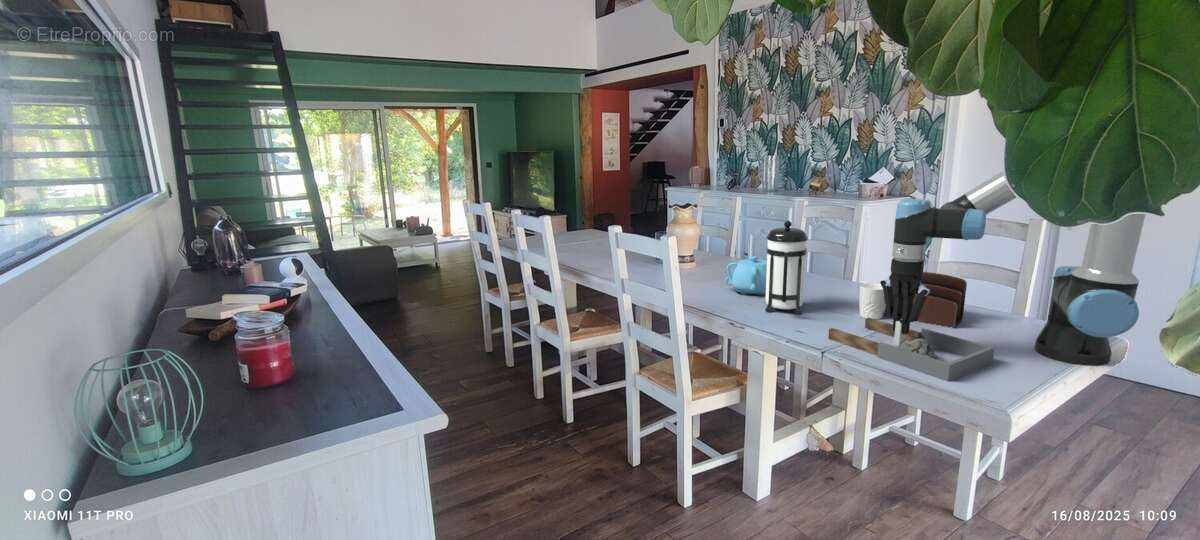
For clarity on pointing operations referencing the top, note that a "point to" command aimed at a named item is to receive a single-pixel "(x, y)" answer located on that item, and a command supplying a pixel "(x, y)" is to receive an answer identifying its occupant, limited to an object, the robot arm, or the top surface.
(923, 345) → the fossilized seashell
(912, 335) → the slot rails
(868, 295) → the white cup
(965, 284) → the letter holder
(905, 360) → the tray
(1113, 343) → the top surface
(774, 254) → the coffee press
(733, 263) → the decorative pot
